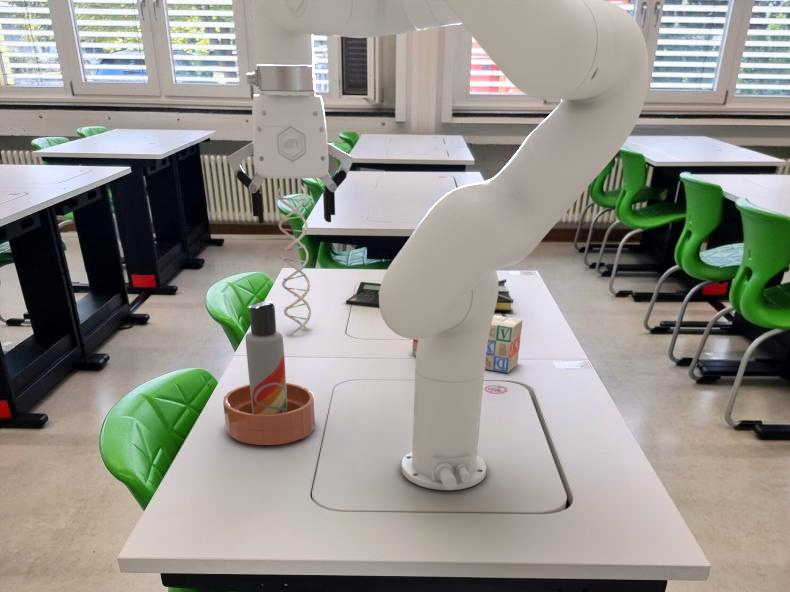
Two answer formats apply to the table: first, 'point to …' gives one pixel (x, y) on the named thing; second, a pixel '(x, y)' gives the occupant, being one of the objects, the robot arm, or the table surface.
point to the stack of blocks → (499, 344)
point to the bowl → (269, 417)
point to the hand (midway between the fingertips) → (294, 221)
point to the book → (503, 298)
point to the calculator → (366, 295)
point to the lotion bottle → (266, 361)
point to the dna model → (297, 260)
